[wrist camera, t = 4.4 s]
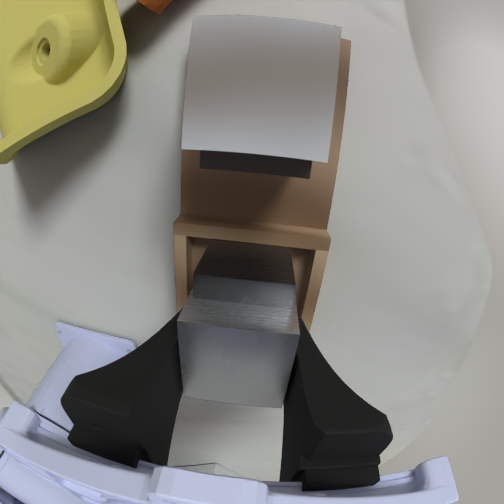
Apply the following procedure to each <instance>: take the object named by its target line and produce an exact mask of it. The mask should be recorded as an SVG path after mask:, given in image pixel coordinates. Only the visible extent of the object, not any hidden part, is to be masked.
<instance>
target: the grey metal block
mask: <svg viewBox="0 0 504 504" xmlns="http://www.w3.org/2000/svg"><path fill="white" fill-rule="evenodd" d="M295 287H296V282H295V275H294V268H293V262H292V255H291V249H290V247H285V246H276V245H267V244H257V243H248V242H239V241H229V240H220V239H211V241H210V243H209V245H208V246H207V248H206V250H205V252H204V254H203V256H202V258H201V259H200V261H199V263H198V265H197V267H196V269H195V271H194V273H193V288H192V290H191V292H190V294H189V296H188V298H187V300H186V302H185V305H184V307H183V309H182V311H181V313H180V315H179V317H178V320H177V329H178V342H179V354H180V364H181V374H182V383H183V392H184V397H189V398H195V399H201V400H208V401H215V402H222V403H230V404H239V405H248V406H259V407H272V408H282V405H283V401H284V398H285V394H286V390H287V386H288V382H289V378H290V374H291V371H292V366H293V362H294V358H295V354H296V350H297V346H298V341H299V337H300V330H299V321H298V313H297V305H296V297H295Z"/></svg>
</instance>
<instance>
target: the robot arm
mask: <svg viewBox="0 0 504 504" xmlns="http://www.w3.org/2000/svg"><path fill="white" fill-rule="evenodd" d="M182 309H183V308H182ZM182 309H181V310H180V311H179V312H178V313H177V314H176V315H175V316H174V317H173V318H172V319H171V320H170V321H169V322H168V323H167V324H166V325H165V326H164V327H162V328H161V329H160V330H159V331H158V332H157V333H156V334H155V335H153V336H152V337H151V338H150V339H148V340H147V341H146V342H145V343H143V344H142V345H141V346H139V347H138V348H136V344H135V343H134V342H133V341H131V340H128V339H123V338H119V337H115V336H111V335H106V334H102V333H98V332H94V331H91V330H87V329H83V328H79V327H76V326H72V325H69V324H65V323H62V322H56V324H55V329H56V331H57V334H58V337H59V339H60V342H61V344H62V347H63V350H62V351H61V353H60V354H59V356H58V357H57V358H56V360H55V361H54V363H53V364H52V366H51V367H50V368H49V370H48V371H47V373H46V374H45V376H44V377H43V379H42V380H41V382H40V383H39V385H38V386H37V388H36V389H35V391H34V392H33V394H32V396H31V397H30V399H29V400H28V402H27V403H26V405H25V406H24V405H22V404H21V403H19V402H17V401H14V402H13V403H12V405H11V406H10V408H8V407H4V408H3V409H2V410H1V411H0V504H452V503H454V502H456V501H458V499H459V497H458V493H457V489H456V486H455V482H454V478H453V475H452V471H451V467H450V464H449V461H448V458H447V456H441V457H438V458H434V459H430V460H426V461H424V462H422V463H420V464H419V465H418V466H417V467H416V468H415V469H414V470H409V471H404V472H399V473H394V474H388V475H382V476H380V475H379V469H378V465H379V464H380V462H381V461H380V456H379V455H380V454H381V453H382V452H383V451H384V450H385V449H386V447H387V446H388V445H389V444H390V442H391V441H392V439H393V434H392V430H391V427H390V423H389V421H388V419H387V416H386V415H385V414H383V413H382V412H380V411H379V410H377V409H376V408H374V407H373V406H371V405H370V404H368V403H367V402H366V401H364V400H363V399H362V398H361V397H359V396H358V395H357V394H356V393H355V392H354V391H353V390H352V389H350V388H349V387H348V386H347V385H346V384H345V383H344V382H343V381H342V380H341V379H340V377H339V376H338V375H337V374H336V373H335V372H334V370H333V369H332V368H331V366H330V365H329V364H328V362H327V361H326V360H325V358H324V357H323V355H322V354H321V352H320V351H319V349H318V347H317V346H316V344H315V342H314V341H313V339H312V337H311V335H310V333H309V332H308V330H307V328H306V326H305V323H304V321H303V320H302V318H298V321H299V330H300V337H299V341H298V346H297V350H296V354H295V358H294V362H293V366H292V371H291V374H290V378H289V382H288V386H287V390H286V394H285V398H284V401H283V404H284V427H283V445H282V459H281V470H280V480H279V482H273V481H258V480H255V479H249V478H243V477H234V476H226V475H218V474H211V473H205V472H199V471H193V470H188V469H183V468H178V467H171V466H167V462H168V456H169V450H170V444H171V439H172V434H173V429H174V424H175V419H176V415H177V410H178V406H179V402H180V399H181V395H182V393H183V383H182V374H181V364H180V354H179V342H178V329H177V320H178V317H179V315H180V313H181V311H182Z"/></svg>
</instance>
